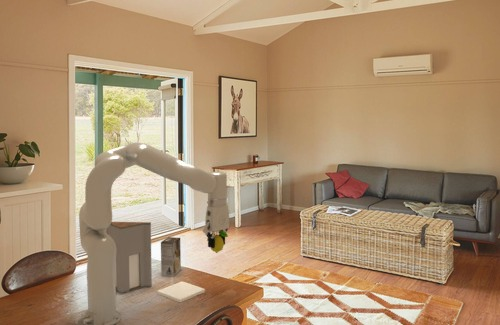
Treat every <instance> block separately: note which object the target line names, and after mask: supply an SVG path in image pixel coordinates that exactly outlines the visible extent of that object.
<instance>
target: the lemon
mask: <svg viewBox="0 0 500 325" xmlns="http://www.w3.org/2000/svg"><path fill="white" fill-rule="evenodd" d="M219 234H220V235H221V236H223V237H225V238H228V236H229V235H228V234H227V232H226V233H225V232H224V231H220V232H219V231H216V233H215V234H214V238H215V248H211V247H210V249H211V251H212V252H215V253H216V254H218V253H219V252H221V251H222V250H223V249H224V247H225V246H224V242H223V239H222V237H221V236H219ZM206 239H207V240H206V241H207V242H208V237H206Z"/></svg>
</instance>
